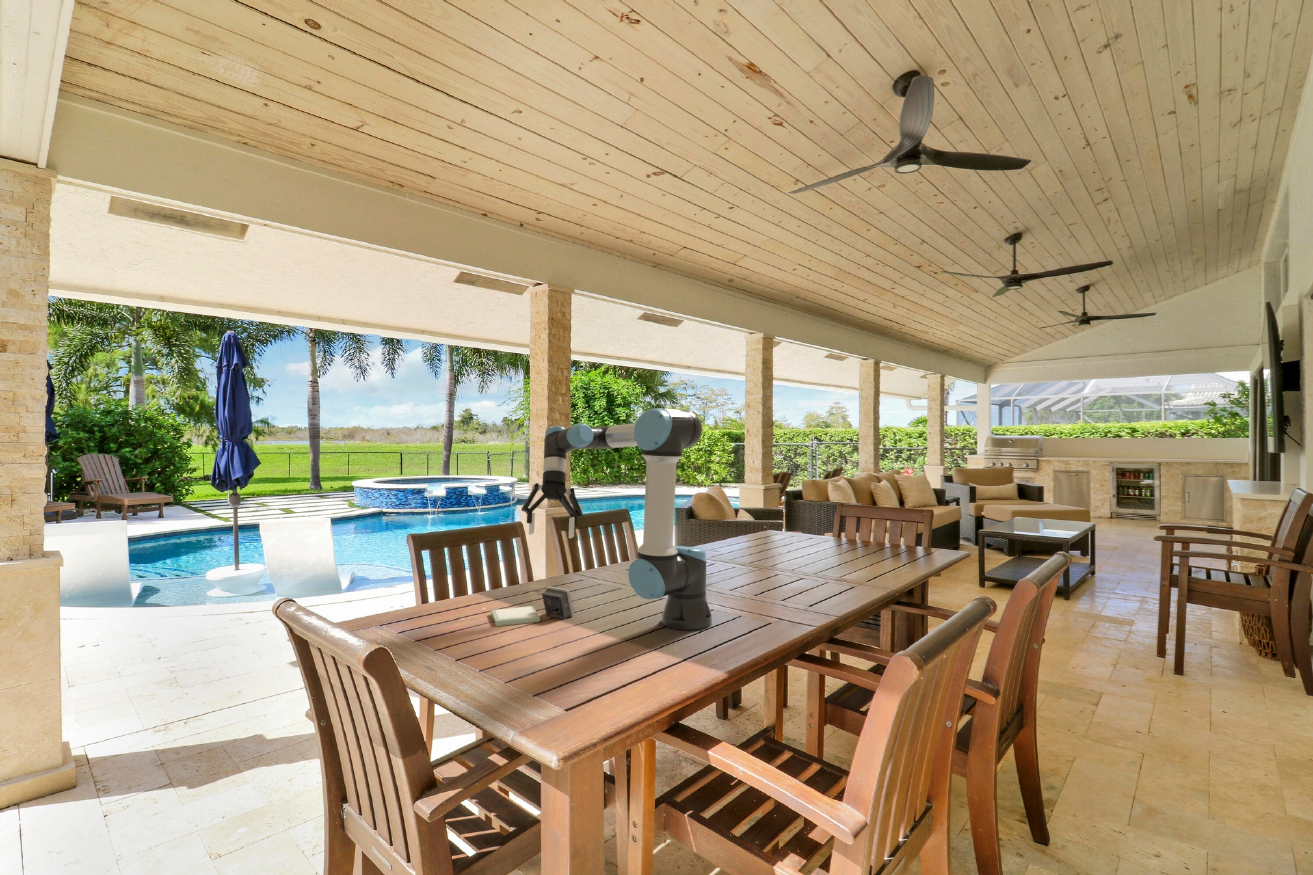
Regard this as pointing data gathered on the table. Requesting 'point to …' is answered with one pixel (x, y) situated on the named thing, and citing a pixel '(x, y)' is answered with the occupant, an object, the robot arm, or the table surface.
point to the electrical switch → (558, 602)
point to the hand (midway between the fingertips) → (551, 535)
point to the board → (515, 615)
